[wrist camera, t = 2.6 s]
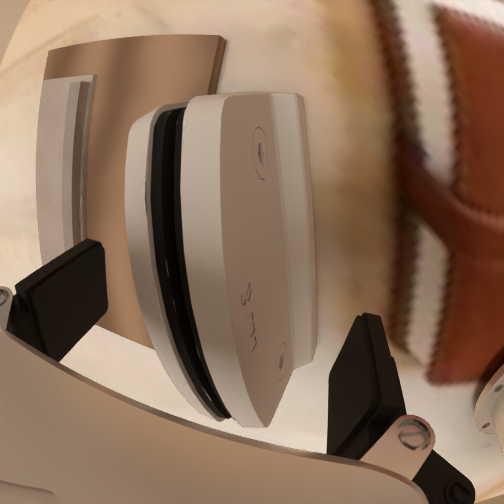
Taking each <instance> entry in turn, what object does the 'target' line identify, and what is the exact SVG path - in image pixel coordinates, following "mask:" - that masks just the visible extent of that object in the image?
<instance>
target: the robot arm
mask: <svg viewBox="0 0 504 504" xmlns="http://www.w3.org/2000/svg"><path fill="white" fill-rule="evenodd" d="M15 289H16V293H17V294H15V295H14V296H13V293H12V291H11V290H10V289H9V288H7V287H2V286H0V504H474V501H475V489H474V486H473V484H472V482H471V481H470V480H469V479H468V478H467V477H466V476H464V475H463V474H462V473H461V472H459V471H458V470H457V469H456V468H455V467H453V466H452V465H451V464H450V463H448V462H447V461H446V460H445V459H444V458H442V457H441V456H440V455H439V454H438V453H436V452H435V451H434V450H433V447H434V444H435V434H434V431H433V429H432V427H431V426H430V424H429V423H427V422H426V421H425V420H424V419H422V418H420V417H418V416H415V415H407V413H406V408H405V403H404V398H403V394H402V389H401V385H400V380H399V376H398V372H397V367H396V363H395V360H394V358H393V357H392V356H391V354H390V350H389V346H388V343H387V339H386V335H385V331H384V327H383V324H382V320H381V317H380V316H378V315H374V314H370V313H363V314H362V316H359V315H358V316H357V317H356V318H355V321H354V323H353V325H352V327H351V329H350V332H349V334H348V336H347V338H346V340H345V342H344V345H343V347H342V349H341V351H340V353H339V355H338V357H337V359H336V361H335V363H334V365H333V367H332V369H331V371H330V374H329V391H328V432H327V454H322V453H316V452H310V451H304V450H299V449H294V448H289V447H284V446H279V445H275V444H270V443H266V442H262V441H258V440H253V439H249V438H245V437H241V436H238V435H234V434H230V433H227V432H223V431H220V430H216V429H213V428H210V427H206V426H203V425H200V424H197V423H194V422H191V421H188V420H185V419H182V418H179V417H177V416H174V415H171V414H168V413H166V412H163V411H160V410H158V409H155V408H153V407H150V406H148V405H145V404H143V403H140V402H138V401H136V400H133V399H131V398H129V397H126V396H124V395H122V394H120V393H117V392H115V391H113V390H111V389H109V388H107V387H105V386H102V385H100V384H98V383H96V382H94V381H92V380H90V379H88V378H86V377H85V376H83V375H81V374H79V373H77V372H75V371H73V370H71V369H69V368H68V367H66V366H64V365H62V364H60V363H59V362H60V361H61V359H62V358H63V357H64V356H65V355H66V354H67V353H68V352H69V351H70V350H71V349H72V348H73V347H74V346H75V344H76V343H77V342H78V341H79V340H80V339H81V338H82V337H83V336H84V335H85V334H86V333H87V332H88V331H89V330H90V329H91V328H92V327H93V326H94V325H95V324H96V323H97V322H98V321H99V320H100V318H101V317H102V316H103V315H104V314H105V313H106V312H107V310H108V295H107V281H106V264H105V249H104V247H102V244H101V242H99V241H96V240H92V239H89V238H87V239H85V240H83V241H82V242H80V243H78V244H77V245H75V246H73V247H72V248H70V249H69V250H67V251H65V252H64V253H62V254H61V255H59V256H58V257H56V258H54V259H53V260H51V261H50V262H48V263H47V264H45V265H44V266H42V267H41V268H39V269H38V270H36V271H35V272H33V273H32V274H30V275H29V276H27V277H26V278H24V279H23V280H21V281H20V282H19V283H17V284H16V285H15ZM474 418H475V421H476V425H477V427H478V429H479V430H480V431H482V432H484V433H488V434H497V436H498V439H499V442H500V445H501V449H502V452H503V455H504V364H503V365H502V366H501V367H500V368H499V369H498V370H497V371H496V373H495V374H494V375H493V377H492V378H491V379H490V380H489V382H488V383H487V385H486V386H485V388H484V389H483V391H482V392H481V394H480V396H479V398H478V400H477V402H476V406H475V409H474Z"/></svg>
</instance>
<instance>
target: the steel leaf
mask: <svg viewBox="0 0 504 504" xmlns="http://www.w3.org/2000/svg"><path fill="white" fill-rule="evenodd" d="M96 79H97V75H83V76H73V77H64V78H56V79H49V80H43V85H42V92H41V99H40V108H39V118H38V130H37V148H36V200H37V218H38V230H39V241H40V250H41V258H42V265H43V266H44V265H45V264H47V263H48V262H50V261H51V260H53V259H54V258H56V257H58V256H59V255H61V254H62V253H64V252H65V251H67V250H69V249H70V248H72V247H73V246H75V245H77V244H78V243H80V242H82V241H83V240H85V239H87V238H86V175H87V156H88V142H89V131H90V122H91V113H92V105H93V98H94V91H95V85H96Z"/></svg>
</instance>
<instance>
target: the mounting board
mask: <svg viewBox="0 0 504 504" xmlns="http://www.w3.org/2000/svg"><path fill="white" fill-rule="evenodd" d="M225 44H226V41H225V40H224V39H223V38H222V37H221V36H220V35H152V36H138V37H127V38H117V39H109V40H102V41H95V42H89V43H83V44H77V45H72V46H67V47H63V48H58V49H54V50H50V51H49V52H48V57H47V62H46V68H45V73H44V79H43V80H49V79H56V78H64V77H73V76H83V75H97V79H96V85H95V91H94V98H93V105H92V113H91V122H90V131H89V142H88V156H87V175H86V238H89V239H92V240H96V241H99V242H101V244H102V247H104V249H105V264H106V281H107V295H108V310H107V312H106V313H105V314H104V315H103V316H102V317H101V318H100V320H99V321H98V322H97V323H96V325H98V326H100V327H102V328H104V329H106V330H109V331H111V332H113V333H115V334H118V335H120V336H122V337H125V338H127V339H129V340H132V341H134V342H136V343H139V344H141V345H144V346H146V347H149V348H151V349H154V350H155V348H154V346H153V343H152V341H151V338H150V336H149V333H148V330H147V328H146V325H145V322H144V319H143V315H142V312H141V308H140V305H139V301H138V297H137V293H136V289H135V284H134V280H133V275H132V271H131V264H130V257H129V249H128V241H127V231H126V218H125V165H126V155H127V145H128V136H129V132H130V129H131V127H132V125H133V123H134V122H135V121H136V120H137V119H139V118H141V117H142V116H144V115H146V114H147V113H149V112H151V111H153V110H154V109H156V108H158V107H160V106H161V105H164V104H170V103H177V102H183V101H190V100H191V99H193V98H194V97H196V96H203V95H213V94H215V92H216V87H217V82H218V77H219V72H220V67H221V62H222V57H223V53H224V48H225Z"/></svg>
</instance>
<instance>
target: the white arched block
mask: <svg viewBox="0 0 504 504" xmlns="http://www.w3.org/2000/svg"><path fill="white" fill-rule="evenodd" d="M125 218H126V231H127V241H128V249H129V257H130V264H131V271H132V275H133V280H134V284H135V289H136V293H137V297H138V301H139V305H140V308H141V312H142V315H143V319H144V322H145V325H146V328H147V330H148V333H149V336H150V338H151V341H152V343H153V346H154V348H155V351H156V353H157V355H158V357H159V359H160V361H161V363H162V365H163V367H164V369H165V371H166V372H167V374H168V376H169V378H170V379H171V381H172V382H173V384H174V385H175V387H176V388H177V390H178V391H179V392H180V394H181V395H182V396H183V397H184V398H185V399H186V401H187V402H188V403H189V404H190V405H191V406H192V407H194V408H195V409H196V410H197V411H198V412H199V413H201V414H203V415H205V416H207V417H209V418H211V419H214V420H216V421H218V422H221V421H223V420H224V419H225V418H227V419H229V418H231V417H232V418H233V419H234V420H236V421H237V423H238V424H239V425H240V426H241V427H249V428H266V427H268V426H269V424H270V423H271V421H272V418H273V416H274V414H275V412H276V409H277V407H278V405H279V402H280V400H281V398H282V395H283V393H284V391H285V388H286V386H287V383H288V381H289V379H290V376H291V374H292V371H293V370H294V369H296V368H298V367H300V366H303V365H305V364H307V363H310V362H311V361H312V360H313V357H314V353H315V349H316V345H317V309H316V265H315V240H314V220H313V204H312V189H311V176H310V163H309V152H308V141H307V131H306V122H305V113H304V104H303V97H302V96H300V95H298V94H291V93H275V92H238V93H224V94H213V95H203V96H196V97H194V98H193V99H191V100H190V101H183V102H177V103H170V104H164V105H161V106H160V107H158V108H156V109H154V110H153V111H151V112H149V113H147V114H146V115H144V116H142V117H141V118H139V119H137V120H136V121H135V122H134V123H133V125H132V127H131V129H130V132H129V136H128V145H127V155H126V165H125Z"/></svg>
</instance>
